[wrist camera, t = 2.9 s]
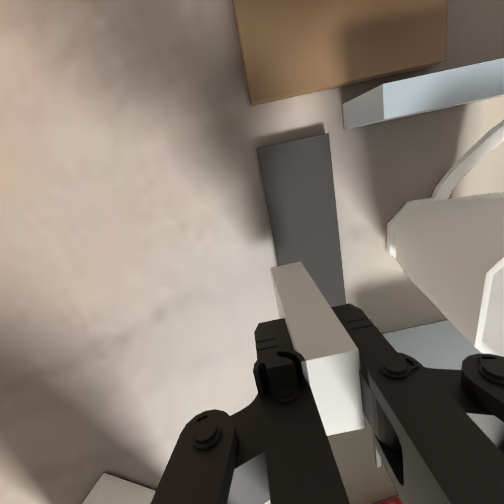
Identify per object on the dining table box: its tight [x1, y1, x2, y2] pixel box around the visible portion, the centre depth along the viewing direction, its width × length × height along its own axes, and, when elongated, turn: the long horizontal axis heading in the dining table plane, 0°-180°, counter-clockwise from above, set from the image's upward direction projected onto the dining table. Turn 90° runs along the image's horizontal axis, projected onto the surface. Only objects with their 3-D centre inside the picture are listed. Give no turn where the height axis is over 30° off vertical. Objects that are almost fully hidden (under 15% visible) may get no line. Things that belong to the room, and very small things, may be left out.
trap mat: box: [257, 133, 346, 307], centre depth 16 cm, size 13×4×1 cm, turn 11°
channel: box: [342, 58, 504, 370], centre depth 14 cm, size 15×10×4 cm, turn 11°
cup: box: [386, 120, 504, 357], centre depth 12 cm, size 7×10×8 cm
